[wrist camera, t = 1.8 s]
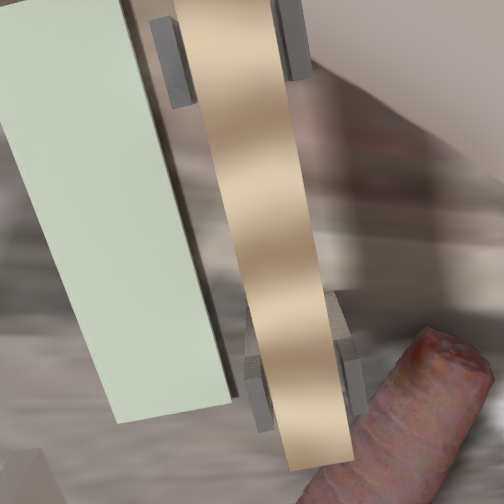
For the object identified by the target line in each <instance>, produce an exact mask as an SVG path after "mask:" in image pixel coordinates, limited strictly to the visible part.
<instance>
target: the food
mask: <svg viewBox="0 0 504 504" xmlns="http://www.w3.org/2000/svg"><path fill="white" fill-rule="evenodd" d="M494 381H495V378H494V375H493V373H492V370H491V368H490V364H489V362H488V361H487V360H486V359H485V358H484V357H482V356H481V354H480V352H479V351H478V350H477V349H476V348H475V347H474V346H473V345H471V344H469V343H468V342H466V341H465V340H462V339H460V338H457V337H455V336H452V335H451V334H448V333H444V332H440V331H438V330H435V329H433V328H430V327H428V326H426V327H424V328H423V329H422V330H421V331H419V332H418V333H417V334H416V335H415V338H414V340H413V343H412V344H411V345H410V346H409V347H408V348H407V350H406V351H405V352H404V353H403V355H402V356H401V358H400V359H399V360H398V361H397V362H396V367H395V368H394V369H393V370H392V371H391V372H390V373H389V374H388V376H387V377H386V379H385V380H384V382H383V383H382V384H381V385H380V386H379V388H378V390H377V391H376V393H375V395H374V396H373V397H372V398H371V399H370V400H369V401H368V409H369V413H366V414H360V415H359V416H358V417H357V418H356V419H355V421H354V422H353V424H352V425H351V426H350V428H349V432H350V438H351V443H352V448H353V454H354V459H355V460H353V461H348V462H342V463H336V464H330V465H324V466H322V467H321V468H320V470H319V471H318V473H317V474H316V475H315V476H314V477H313V479H312V480H311V481H310V483H309V484H308V485H307V486H306V488H305V489H304V492H303V495H302V496H301V497H300V498H299V500H298V501H297V502H296V504H431V502H432V500H433V499H434V497H435V496H436V494H437V493H438V491H439V489H440V487H441V485H442V484H443V482H444V480H445V478H446V475H447V470H448V468H450V467H451V466H452V464H453V462H454V460H455V458H456V456H457V454H458V451H459V449H460V446H461V443H462V441H463V440H464V439H465V438H466V436H467V434H468V432H469V430H470V428H471V427H472V425H473V423H474V421H475V419H476V416H477V413H479V412H480V410H481V408H482V406H483V404H484V402H485V400H486V397H487V395H488V392H489V389H490V387H491V386H492V384H493V383H494Z"/></svg>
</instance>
